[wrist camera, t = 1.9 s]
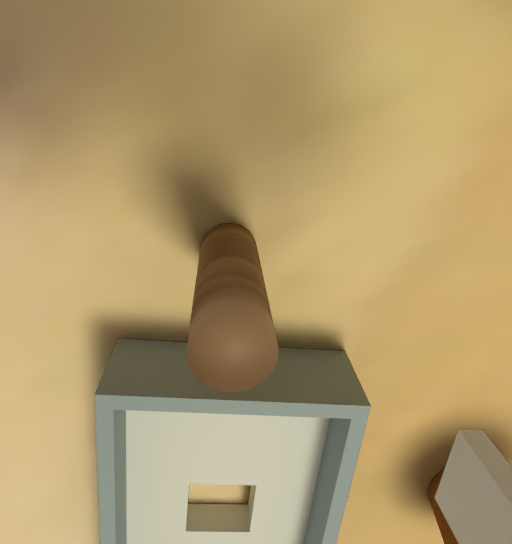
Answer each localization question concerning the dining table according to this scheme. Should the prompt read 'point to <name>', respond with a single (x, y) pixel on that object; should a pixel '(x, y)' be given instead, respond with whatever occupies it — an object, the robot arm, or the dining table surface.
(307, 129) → the dining table surface
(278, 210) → the dining table surface
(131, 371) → the tray
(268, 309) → the dowel
